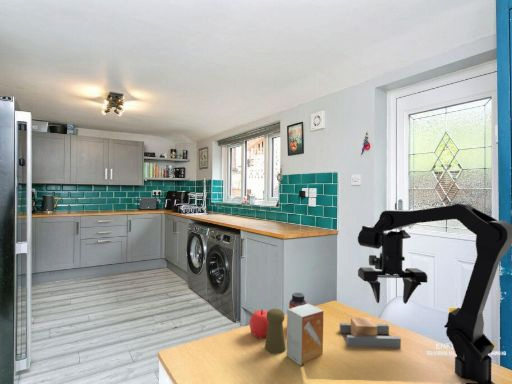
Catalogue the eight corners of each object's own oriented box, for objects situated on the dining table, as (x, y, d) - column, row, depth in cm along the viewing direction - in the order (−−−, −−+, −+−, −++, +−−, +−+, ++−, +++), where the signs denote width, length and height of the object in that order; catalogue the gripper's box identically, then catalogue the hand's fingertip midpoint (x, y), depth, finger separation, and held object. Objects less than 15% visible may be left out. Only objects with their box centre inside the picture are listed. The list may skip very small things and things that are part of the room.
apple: (244, 335, 93) (244, 310, 93) (259, 326, 99) (259, 302, 99) (264, 343, 88) (264, 317, 88) (279, 333, 94) (279, 308, 94)
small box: (301, 367, 76) (302, 316, 76) (285, 355, 81) (286, 308, 81) (323, 357, 81) (324, 310, 81) (307, 347, 86) (307, 302, 86)
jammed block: (369, 333, 92) (370, 317, 92) (377, 343, 86) (377, 326, 86) (350, 333, 92) (350, 317, 92) (356, 343, 86) (356, 326, 86)
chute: (386, 334, 94) (386, 323, 94) (400, 351, 84) (400, 338, 84) (339, 333, 94) (339, 322, 94) (347, 349, 85) (348, 337, 85)
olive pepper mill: (261, 350, 84) (261, 311, 84) (270, 341, 89) (270, 304, 89) (280, 356, 81) (281, 316, 81) (288, 346, 86) (289, 308, 87)
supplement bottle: (285, 326, 99) (285, 292, 99) (300, 322, 102) (300, 290, 102) (295, 333, 94) (295, 298, 94) (310, 330, 97) (310, 295, 97)
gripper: (409, 246, 97) (408, 294, 97) (352, 245, 97) (351, 293, 97) (429, 254, 86) (428, 307, 86) (364, 253, 86) (363, 306, 86)
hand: (391, 302), depth 89 cm, fingers open, 8 cm apart
